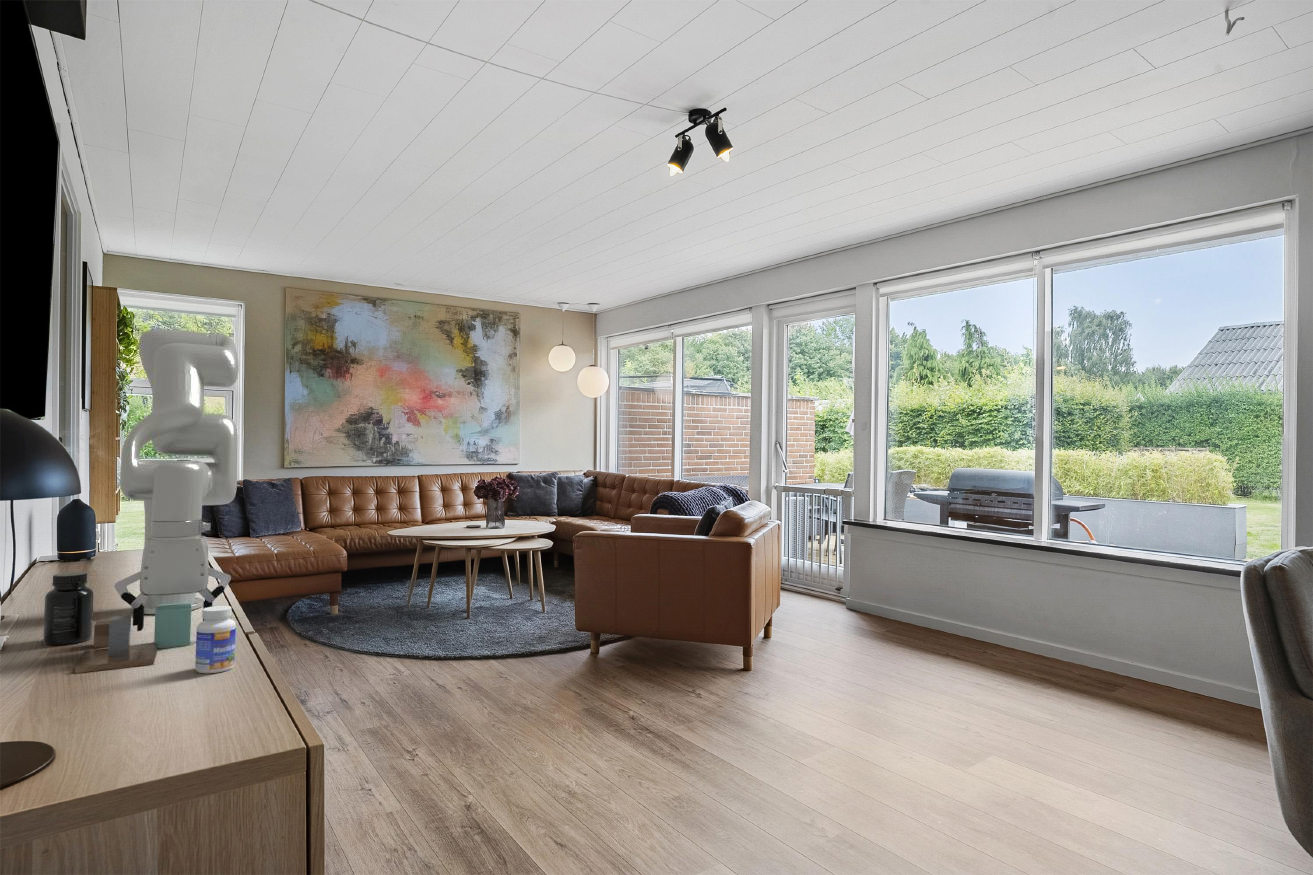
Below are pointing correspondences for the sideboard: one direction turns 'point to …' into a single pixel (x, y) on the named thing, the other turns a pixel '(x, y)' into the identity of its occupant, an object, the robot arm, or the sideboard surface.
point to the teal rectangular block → (172, 625)
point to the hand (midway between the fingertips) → (173, 626)
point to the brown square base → (117, 650)
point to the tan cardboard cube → (101, 634)
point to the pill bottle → (215, 640)
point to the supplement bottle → (68, 610)
